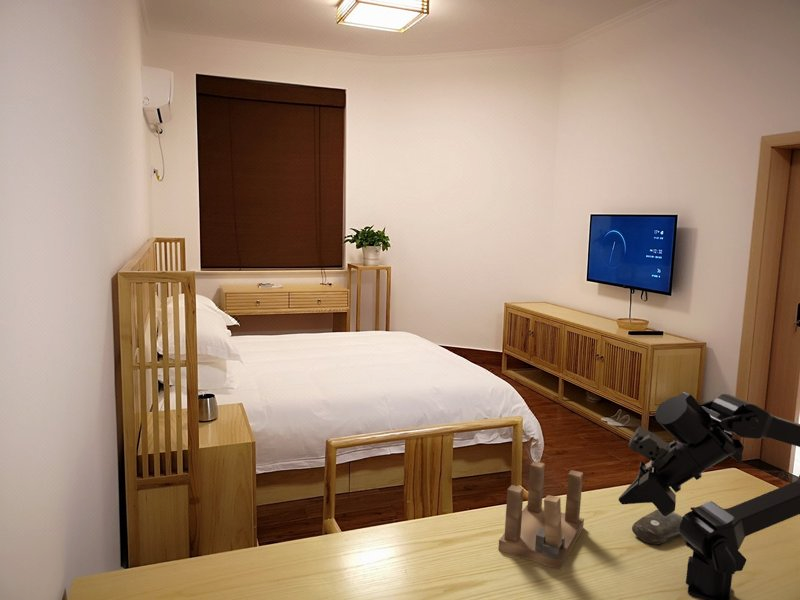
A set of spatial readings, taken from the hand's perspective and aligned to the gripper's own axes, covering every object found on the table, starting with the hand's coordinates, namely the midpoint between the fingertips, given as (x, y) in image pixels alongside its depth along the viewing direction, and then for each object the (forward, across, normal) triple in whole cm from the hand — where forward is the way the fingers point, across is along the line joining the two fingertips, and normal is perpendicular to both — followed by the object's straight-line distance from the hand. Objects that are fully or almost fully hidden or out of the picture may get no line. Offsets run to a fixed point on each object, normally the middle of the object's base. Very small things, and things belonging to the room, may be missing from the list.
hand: (620, 501), depth 107 cm
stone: (+5, -20, +15) cm, 26 cm away
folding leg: (+15, +2, 0) cm, 15 cm away
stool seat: (+20, -5, 0) cm, 20 cm away
